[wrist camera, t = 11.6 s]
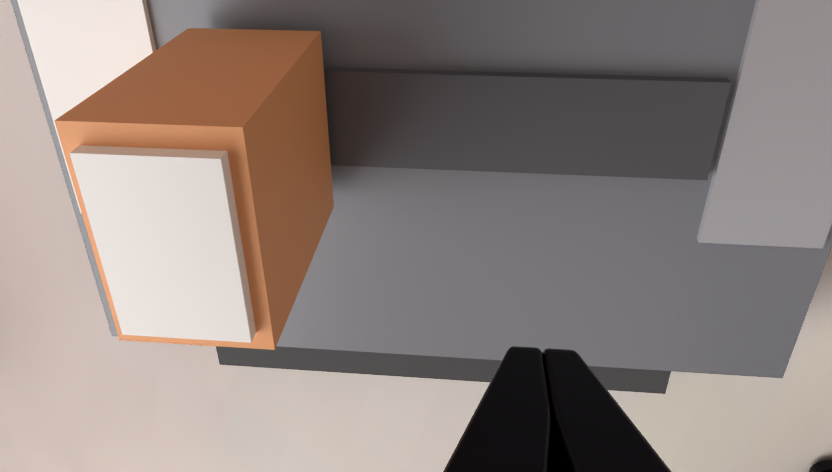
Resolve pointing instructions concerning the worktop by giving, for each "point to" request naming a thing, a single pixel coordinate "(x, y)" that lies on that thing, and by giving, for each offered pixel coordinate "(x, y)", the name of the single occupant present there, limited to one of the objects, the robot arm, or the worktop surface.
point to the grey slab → (419, 366)
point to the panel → (533, 168)
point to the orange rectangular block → (206, 184)
